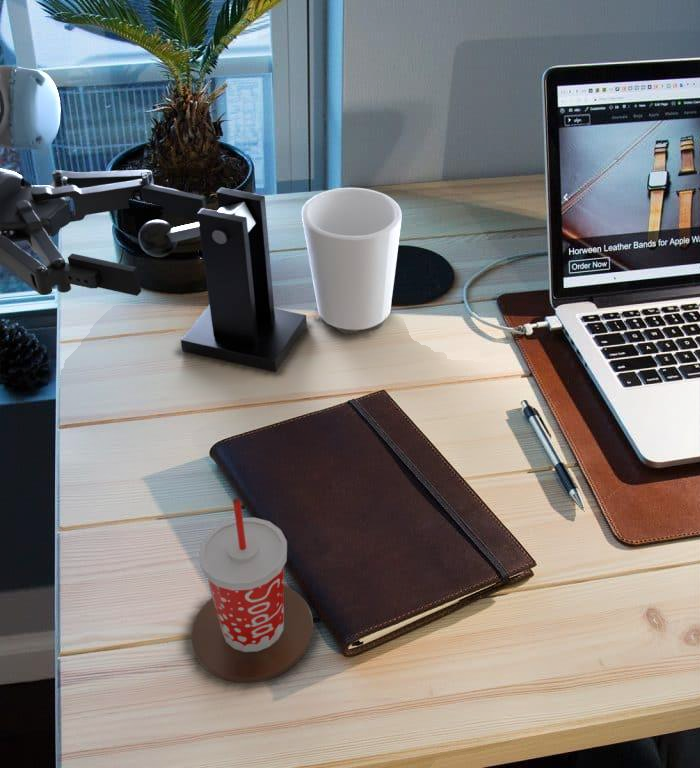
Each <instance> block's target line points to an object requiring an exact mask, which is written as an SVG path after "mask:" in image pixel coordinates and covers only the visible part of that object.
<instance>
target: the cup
mask: <svg viewBox="0 0 700 768" xmlns="http://www.w3.org/2000/svg"><path fill="white" fill-rule="evenodd" d="M300 215H301V220H302V226H303V231H304V237H305V243H306V250H307V255H308V261H309V267H310V272H311V273H310V274H311V278H312V279H311V280H312V283H313V290H314V295H315V302H316V307H317V312H318V316H319V319H320V320H321V321H322V323H325V324H328V325H329V326H332V327H334V328H336V329H337V330H339V331H340V332H341V333H343V334H345V335H353V334H355V333H356V332H358V331H363V330H367V329H373V330H376V329H377V330H378V329H380V328H381V327H382V326H383V324H384V323H385V322H386V320H387V318H388V317H389V315H390V313H391V308H392V300H393V294H394V293H393V292H394V286H395V285H394V284H395V276H396V270H397V269H396V268H397V260H398V254H399V253H398V251H399V244H400V235H401V228H402V217H403V216H402V215H403V212H402V210H401V207H400V205H399V204H398V202H396V201H395V200H394V199H393V198H391V197H390V196H389V195H387V194H385V193H383V192H380V191H377V190H373V189H368V188H364V187H337V188H332V189H329V190H326V191H323V192H320V193H318V194H316V195H314V196H312V197H311V198H310V199H308V200H306V202H305V203H304V204H303V206H302V208H301V214H300Z"/></svg>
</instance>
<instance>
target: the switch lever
mask: <svg viewBox="0 0 700 768" xmlns="http://www.w3.org/2000/svg"><path fill="white" fill-rule="evenodd" d="M217 211H218V212H223V213H228V214H233V215H238V216H243V217H246V218H247V227H248V232H249V231H250V230H251V229H252V228H253V227H254V225H255V224H256V223H255V221H254V219H253V217H252V215H251V213H250V211H249V210H248V208H247V206H246V204H245V202H241V203H237V204H233V205H229V206H225V207H221V208H220V209H219V208H218V210H217ZM198 237H201V236H200V229H199V222H198V221H196V222H193V223H189V224H184V225H180V226H176V227H175V226H173V225H172V224H170V222H168V221H165V220H162V219H152V220H149V221H147V222H145V223H144V224H143V225H142V226H141V228H140V229H139V232H138V243H139V246H140V248H141V249H142V251H144V252H145V253H146V254H147V255H149V256H151V257H154V258H163V257H166V256H168V255H169V256H170V254H172V253H173V252H174V251H175V250H176V248H177V245H178V242H180V241H184V240H189V239H193V238H198Z"/></svg>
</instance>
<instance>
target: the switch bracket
mask: <svg viewBox="0 0 700 768" xmlns="http://www.w3.org/2000/svg"><path fill="white" fill-rule="evenodd" d="M216 198H217V204H218V210H219V209H220V208H221V207H225V206H229V205H233V204H237V203H241V202H245V204H246V206H247V208H248V210H249V211H250V213H251V215H252V217H253V219H254V221H255V223H256V224H255V225H254V227H253V228H252V229H251V230H250V231H249V232H248V227H247V218H246V217H243V216H238V215H233V214H228V213H223V212H218V210H212V209H208V208H207V209H203V208H202V209H201V210H200V211H199V212H198V221H199V229H200V236H199V237H200V242H201V251H202V259H203V266H204V267H203V268H204V273H205V281H206V288H207V295H208V296H207V297H208V303H209V304H208V306H207V307H206V308H205V309H204V310H203V312H202V313H201V314H200V316H199V317H198V318H197V319H196V321H195V322H194V323H193V324H192V325H191V327H190V328H189V329H188V330H187V331H186V332H185V334H184V335H183V336H182V337H181V339H180V344H181V351H182V353H186V354H191V355H196V356H201V357H203V358H204V357H205V358H209V359H213V360H218V361H223V362H227V363H232V364H236V365H241V366H244V367H245V366H246V367H249V368H254V369H259V370H263V371H267V372H272V373H277V372H278V371H279V369H280V367H281V366H282V364H283V363H284V361H285V360H286V358H288V355H289V354H290V352H291V351H292V350H293V347H295V345H296V343H297V342H298V340H299V339H300V337H301V336H302V334H303V333H304V331H305V330H306V329H307V325H308V324H307V323H308V322H307V314H304V313H298V312H294V311H289V310H285V309H280V308H276V307H275V303H274V291H273V279H272V266H271V255H270V254H271V253H270V243H269V232H268V231H269V230H268V219H267V207H266V196H265V195H261V194H255V193H252V192H251V193H250V192H247V191H246V192H245V191H241V190H236V189H230V188H225V187H220V188H219V189H218V190H217V191H216ZM198 221H197V222H198Z"/></svg>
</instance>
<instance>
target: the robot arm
mask: <svg viewBox="0 0 700 768" xmlns="http://www.w3.org/2000/svg"><path fill="white" fill-rule="evenodd" d="M60 122H61V100H60V95H59V91H58V89H57V87H56V84H55V82H54V81H53V79H52V78H51V77H50V76H49V75H48V74H47V73H46V72H43V71H42V70H38V69H34V68H33V69H32V68H27V67H26V68H25V67H21V66H19V65H11V66H10V65H3V64H0V148H6V149H12V150H16V151H19V150H33V151H34V150H36V151H37V150H39V151H40V150H44V149H46V148H47V147H49V146H50V145H51V144H52V143H53V142H54V140H55V139H56V136H57V134H58V133H59V132H58V131H59V129H60V128H59V127H60ZM51 176H52V180H53V181H52V182H51V183H50V184H49V185H45V184H44V185H33V184H32V183H30V182H29V181H28V180H26V179H25V178H24V177H23V176H22V175H21V174H19V173H17V172H16V171H13V170H9V169H3V168H0V265H1V266H2V267H4V268H5V269H6V270H8V271H9V272H10V273H11V274H13V275H14V276H15V277H16V278H18V279H20V280H21V281H22V282H23V283H25V284H26V285H27V286H28V287H30V288H31V289H32V290H34V291H35V292H36V293H37V294H39V295H41V296H48V295H50V294H52V293H53V288H54V287H56V288H57V291H58V292H59V293H61V294H62V293H63V294H64V293H68V292H70V291H71V290H72V286H71V285H74V286H78V287H83V288H87V289H98V288H99V289H103V290H108V291H113V292H117V293H121V294H127V295H131V296H135V297H137V296H139V295H140V294H141V292H142V287H141V283H140V277H139V271H138V267H137V266H132V265H128V264H127V265H126V264H124V263H118V262H113V261H109V260H104V259H100V258H95V257H91V256H86V255H81V254H76V253H70V255H69V256H67V262H66V259H65V257H64V256H63V255H62V253H61V252H60V250H59V248H58V247H57V246H56V244H55V243H54V242H53V240H52V238H51V237H53V238H54V237H55V236H56V235H58V233H59V232H60V230H61V229H62V228H64V227H66V226H67V225H69V224H70V223H72V222H73V223H74V222H80V221H83V220H85V217H86V216H90V215H96V214H101V213H109V212H113V211H114V212H115V211H119V210H126V209H131V208H130V207H129V204H128V203H129V202H128V201H129V200H128V199H132V200H133V199H138V200H143V201H145V202H147V203H152V204H155V205H160V206H161V207H162V206H163V209H164V208H165V209H164V210H166V211H165V213H166V214H165V213H164V214H163V215H165V216H169V217H174V218H179V219H183V220H188V221H194V222H199V221H198V212H199V211H200V210H201V209H202V208H203V209H208V207H207V200H206V196H205V195H201V194H195V193H190V192H185V191H182V190H181V191H180V190H178V189H175V188H170V187H165V186H161V185H156V184H155V183H154V182H155V181H154V177H153V176H154V175H153V171H152V170H150V169H137V170H136V169H135V170H132V169H131V170H110V171H109V170H107V171H103V170H102V171H80V172H79V171H77V172H75V171H69V170H60V169H58V170H54V171H52V173H51ZM136 194H137V195H139V196H135V195H136ZM70 200H72V205H73V210H71V208H70V207H71V206H70V203H69V202H68V201H70ZM20 242H26V243H27V245H29V247H30V248H31V249H30V250H32V251H33V253H34V254H35V255H37V257H38V258H39V259H40V261H38V260H37V259H36V258H35V257H33V256H32V255H31V254H30V253H28V252H26V250H24V249H23V248H21V247H20V246H19V245H18V244H15V243H20Z"/></svg>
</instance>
